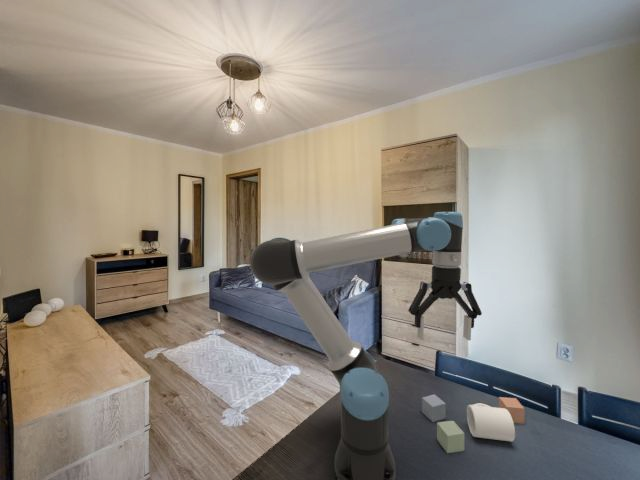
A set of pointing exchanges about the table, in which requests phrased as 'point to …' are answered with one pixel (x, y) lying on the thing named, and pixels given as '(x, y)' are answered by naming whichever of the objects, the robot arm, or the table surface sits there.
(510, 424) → the mug
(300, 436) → the table surface
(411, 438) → the table surface
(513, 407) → the terracotta block
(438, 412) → the slate block
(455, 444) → the sage block
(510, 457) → the table surface
